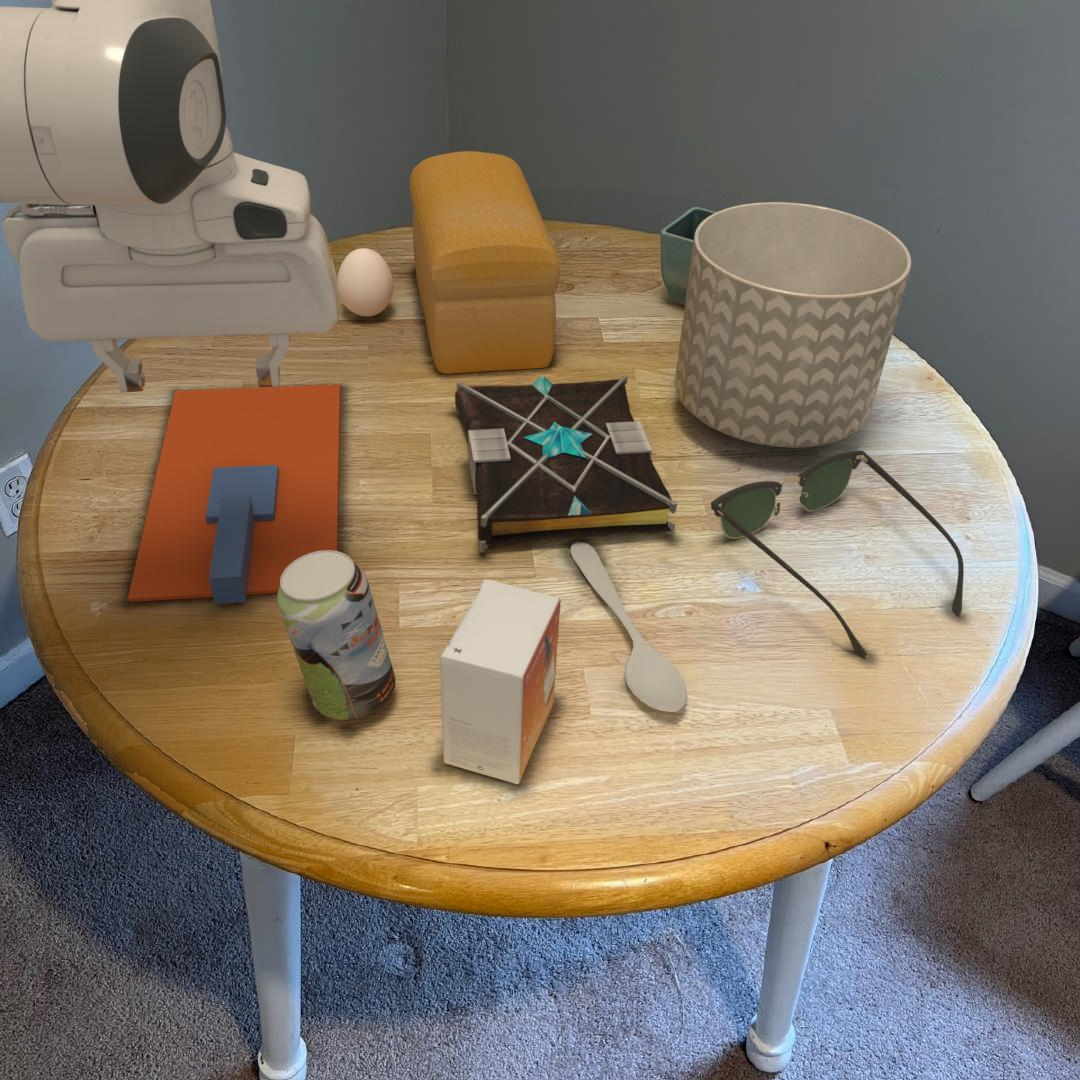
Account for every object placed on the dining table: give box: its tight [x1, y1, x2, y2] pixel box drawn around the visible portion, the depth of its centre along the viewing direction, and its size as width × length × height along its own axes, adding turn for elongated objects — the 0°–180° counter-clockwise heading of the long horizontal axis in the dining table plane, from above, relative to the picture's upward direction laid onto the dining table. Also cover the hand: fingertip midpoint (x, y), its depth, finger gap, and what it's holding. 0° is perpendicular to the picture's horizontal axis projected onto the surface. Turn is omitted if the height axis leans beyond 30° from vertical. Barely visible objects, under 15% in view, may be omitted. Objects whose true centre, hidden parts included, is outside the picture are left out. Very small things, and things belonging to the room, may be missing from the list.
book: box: [454, 374, 678, 553], centre depth 98 cm, size 22×17×5 cm
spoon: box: [570, 541, 688, 713], centre depth 84 cm, size 4×21×2 cm, turn 18°
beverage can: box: [276, 550, 396, 721], centre depth 75 cm, size 6×7×12 cm
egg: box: [336, 247, 395, 317], centre depth 119 cm, size 6×6×8 cm
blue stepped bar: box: [206, 465, 279, 605], centre depth 90 cm, size 17×6×3 cm, turn 7°
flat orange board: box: [127, 383, 341, 603], centre depth 97 cm, size 30×16×1 cm, turn 7°
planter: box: [674, 201, 912, 448], centre depth 102 cm, size 19×19×18 cm
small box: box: [439, 578, 562, 785], centre depth 73 cm, size 8×6×10 cm
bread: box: [408, 150, 561, 375], centre depth 117 cm, size 24×13×15 cm, turn 10°
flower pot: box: [660, 206, 717, 307], centre depth 124 cm, size 9×9×9 cm
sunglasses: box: [710, 449, 965, 657], centre depth 89 cm, size 16×17×5 cm
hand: (202, 385), depth 78 cm, fingers open, 8 cm apart
